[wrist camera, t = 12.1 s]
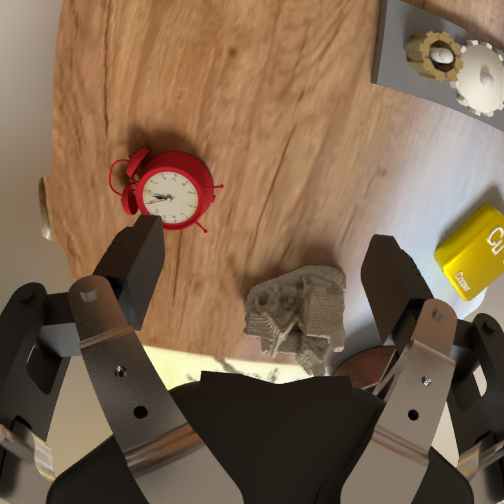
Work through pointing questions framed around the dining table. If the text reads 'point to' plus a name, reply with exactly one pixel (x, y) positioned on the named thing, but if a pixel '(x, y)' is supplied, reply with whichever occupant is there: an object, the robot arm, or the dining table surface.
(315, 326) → the ceramic cottage
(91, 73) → the dining table surface
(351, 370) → the wooden bowl
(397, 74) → the gear board
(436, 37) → the brass gear
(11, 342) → the robot arm
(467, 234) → the element tile
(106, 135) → the dining table surface
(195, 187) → the alarm clock
